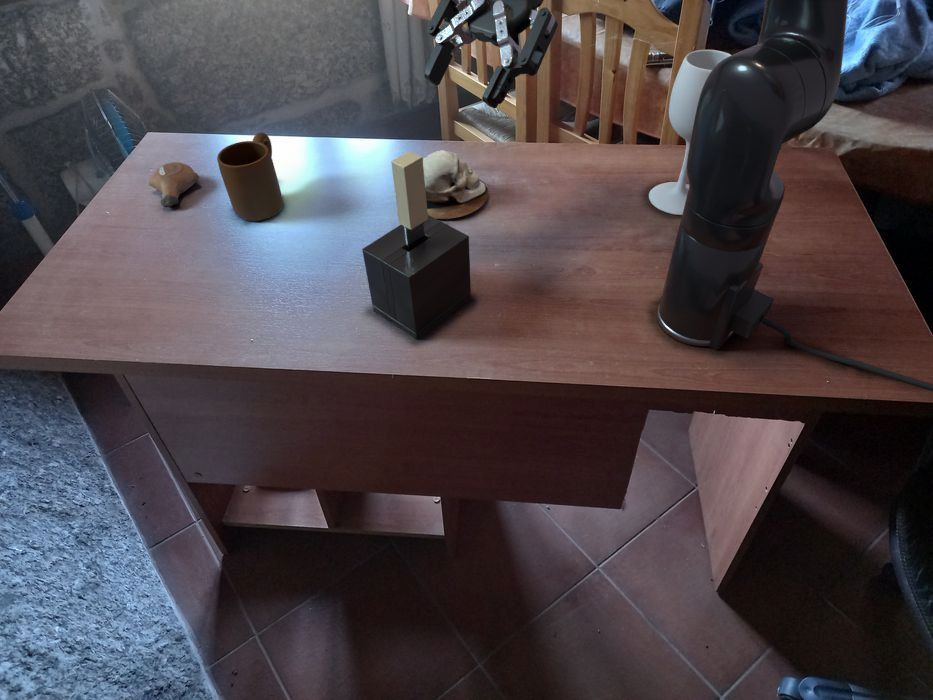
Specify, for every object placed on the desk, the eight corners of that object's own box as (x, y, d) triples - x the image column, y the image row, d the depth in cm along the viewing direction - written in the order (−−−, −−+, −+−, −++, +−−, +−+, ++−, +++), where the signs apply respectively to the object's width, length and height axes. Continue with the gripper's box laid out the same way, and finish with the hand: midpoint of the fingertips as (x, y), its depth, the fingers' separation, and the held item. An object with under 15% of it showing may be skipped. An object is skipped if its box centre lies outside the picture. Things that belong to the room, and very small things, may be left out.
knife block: (471, 298, 85) (469, 235, 78) (416, 339, 80) (409, 277, 73) (427, 272, 89) (421, 211, 82) (373, 310, 84) (361, 248, 77)
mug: (255, 178, 107) (239, 124, 100) (300, 181, 106) (286, 126, 99) (226, 221, 99) (206, 165, 92) (274, 224, 98) (257, 168, 91)
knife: (435, 296, 84) (422, 156, 70) (419, 307, 83) (404, 167, 68) (424, 289, 85) (409, 150, 71) (408, 301, 84) (390, 161, 69)
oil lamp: (139, 204, 104) (175, 217, 101) (127, 184, 101) (163, 197, 98) (179, 170, 109) (214, 183, 106) (168, 150, 105) (204, 162, 103)
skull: (485, 165, 105) (489, 144, 95) (487, 229, 105) (491, 214, 95) (411, 166, 105) (407, 145, 95) (412, 230, 105) (408, 216, 95)
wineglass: (690, 179, 103) (724, 42, 88) (718, 210, 97) (760, 68, 82) (639, 189, 101) (664, 51, 86) (664, 220, 96) (697, 78, 80)
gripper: (461, -88, 68) (393, 59, 71) (572, -65, 61) (492, 97, 64) (494, -44, 75) (430, 89, 77) (598, -19, 68) (524, 127, 70)
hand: (458, 92), depth 71 cm, fingers open, 8 cm apart
